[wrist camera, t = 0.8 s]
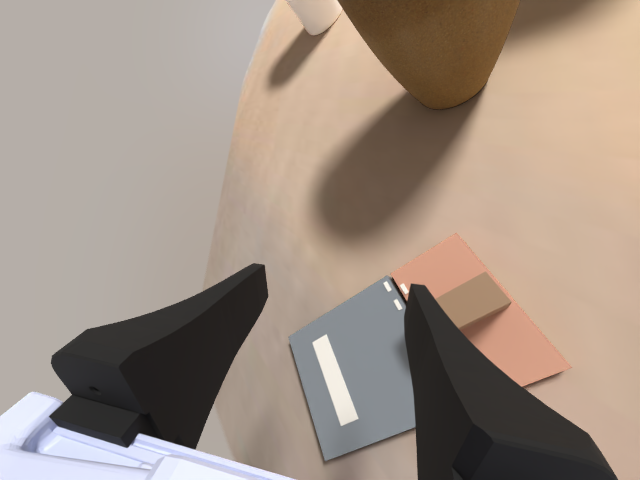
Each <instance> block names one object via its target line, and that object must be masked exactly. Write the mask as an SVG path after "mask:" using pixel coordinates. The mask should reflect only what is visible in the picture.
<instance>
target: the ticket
mask: <svg viewBox="0 0 640 480" xmlns="http://www.w3.org/2000/svg"><path fill="white" fill-rule="evenodd" d="M405 309H406V302H405V301H404V299H403V297H402V296H401V294H400V292H399V291H398V289H397V287H396V286H395V284H394V282H393V281H392V279H391V277H389V276H385V277H384V278H382V279H381V280H379V281H377V282H376V283H374V284H373V285H371V286H369V287H368V288H366V289H365V290H363V291H361V292H360V293H358V294H357V295H355V296H353V297H352V298H350V299H349V300H347V301H345V302H344V303H342V304H341V305H339V306H337V307H336V308H334V309H333V310H331V311H329V312H328V313H326V314H324V315H323V316H321V317H320V318H318V319H316V320H315V321H313V322H312V323H310V324H308V325H307V326H305V327H304V328H302V329H300V330H299V331H297V332H296V333H294V334H292V335H291V336H289V341H290V344H291V348H292V351H293V354H294V358H295V361H296V365H297V368H298V371H299V375H300V378H301V381H302V385H303V388H304V392H305V395H306V398H307V402H308V405H309V408H310V412H311V415H312V419H313V422H314V425H315V429H316V432H317V436H318V439H319V442H320V446H321V449H322V452H323V456H324V459H325V461H327V460H330V459H332V458H335V457H338V456H340V455H343V454H346V453H348V452H351V451H354V450H356V449H359V448H361V447H364V446H367V445H369V444H372V443H375V442H377V441H380V440H383V439H385V438H388V437H391V436H393V435H396V434H399V433H401V432H404V431H406V430H409V429H412V428H414V427H416V426H415V409H414V395H413V386H412V380H411V374H410V367H409V361H408V355H407V349H406V343H405V334H404V314H405Z"/></svg>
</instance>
